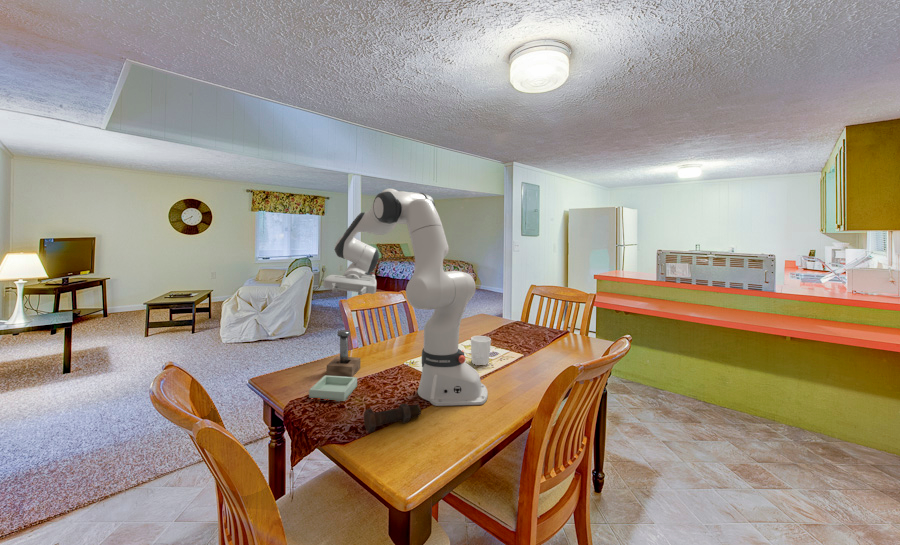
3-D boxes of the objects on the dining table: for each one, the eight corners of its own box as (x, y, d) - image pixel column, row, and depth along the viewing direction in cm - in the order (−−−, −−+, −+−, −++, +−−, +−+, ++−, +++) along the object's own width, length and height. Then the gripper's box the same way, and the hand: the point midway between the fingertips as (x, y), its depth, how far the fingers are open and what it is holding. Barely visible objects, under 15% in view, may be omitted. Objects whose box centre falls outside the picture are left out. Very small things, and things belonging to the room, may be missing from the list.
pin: (352, 370, 130) (352, 330, 129) (347, 374, 126) (347, 333, 124) (340, 369, 131) (340, 329, 129) (335, 374, 126) (335, 333, 125)
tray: (357, 386, 117) (357, 377, 117) (344, 401, 106) (344, 392, 106) (324, 383, 118) (324, 375, 118) (309, 399, 107) (309, 389, 107)
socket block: (360, 368, 132) (360, 357, 132) (351, 377, 124) (351, 366, 123) (336, 366, 133) (336, 356, 133) (326, 376, 124) (326, 365, 124)
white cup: (490, 367, 137) (492, 342, 136) (470, 366, 137) (471, 341, 136) (488, 359, 145) (490, 335, 144) (469, 359, 145) (470, 335, 144)
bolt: (419, 424, 99) (366, 436, 91) (413, 408, 102) (362, 419, 95) (425, 411, 96) (371, 423, 88) (418, 395, 100) (366, 406, 92)
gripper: (328, 268, 144) (319, 280, 131) (378, 275, 147) (375, 287, 134) (327, 283, 146) (318, 296, 133) (377, 289, 149) (373, 302, 136)
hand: (347, 291), depth 134 cm, fingers open, 8 cm apart
